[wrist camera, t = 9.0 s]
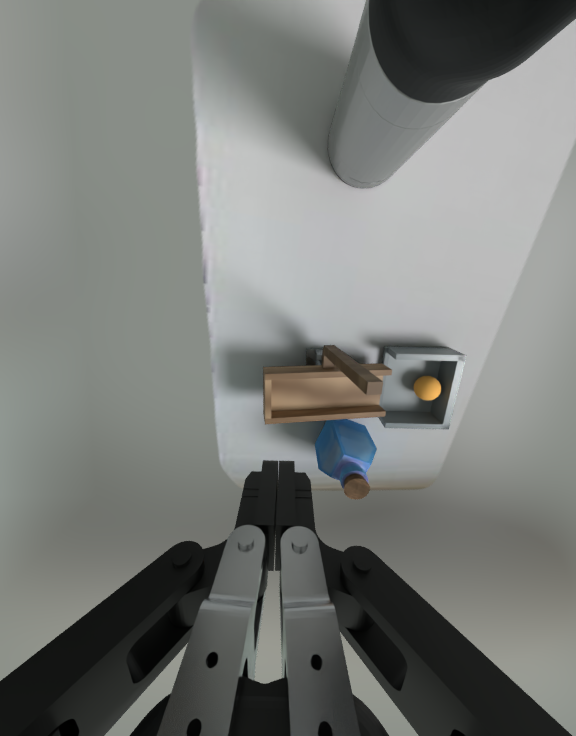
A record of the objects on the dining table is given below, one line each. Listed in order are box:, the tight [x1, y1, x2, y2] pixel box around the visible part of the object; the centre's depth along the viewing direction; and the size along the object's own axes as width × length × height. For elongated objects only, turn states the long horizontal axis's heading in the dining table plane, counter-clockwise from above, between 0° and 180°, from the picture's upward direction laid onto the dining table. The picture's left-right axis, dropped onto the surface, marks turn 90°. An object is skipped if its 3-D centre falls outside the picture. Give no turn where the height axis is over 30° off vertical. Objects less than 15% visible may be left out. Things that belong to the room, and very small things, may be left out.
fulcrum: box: [306, 349, 323, 366], centre depth 40 cm, size 10×5×3 cm, turn 179°
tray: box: [378, 346, 467, 429], centre depth 40 cm, size 11×10×4 cm
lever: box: [263, 345, 392, 424], centre depth 31 cm, size 10×17×14 cm, turn 89°
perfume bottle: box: [315, 419, 377, 499], centre depth 39 cm, size 6×6×12 cm
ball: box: [414, 376, 441, 400], centre depth 40 cm, size 4×4×4 cm
